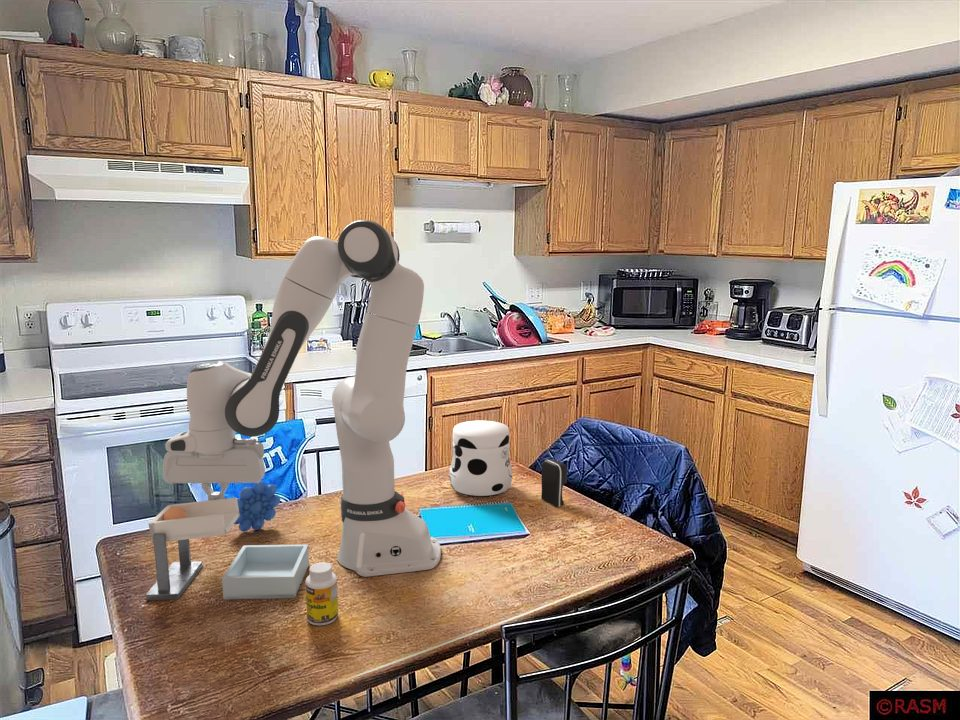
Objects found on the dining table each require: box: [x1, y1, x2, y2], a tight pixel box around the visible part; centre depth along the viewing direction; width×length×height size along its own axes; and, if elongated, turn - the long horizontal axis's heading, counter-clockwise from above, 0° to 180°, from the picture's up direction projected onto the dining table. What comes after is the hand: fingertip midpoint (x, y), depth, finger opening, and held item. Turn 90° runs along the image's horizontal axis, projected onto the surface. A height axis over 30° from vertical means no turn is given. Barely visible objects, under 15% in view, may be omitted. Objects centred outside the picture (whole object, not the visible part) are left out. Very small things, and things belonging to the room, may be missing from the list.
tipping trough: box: [148, 497, 240, 544], centre depth 135 cm, size 14×16×4 cm
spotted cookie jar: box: [448, 419, 513, 499], centre depth 182 cm, size 17×17×18 cm
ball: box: [164, 507, 186, 520], centre depth 131 cm, size 4×4×4 cm
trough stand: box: [145, 533, 204, 601], centre depth 133 cm, size 6×13×13 cm, turn 3°
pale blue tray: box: [221, 544, 310, 600], centre depth 135 cm, size 14×14×4 cm
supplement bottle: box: [305, 561, 339, 626], centre depth 121 cm, size 6×6×10 cm
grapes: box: [233, 480, 281, 533], centre depth 158 cm, size 12×7×12 cm, turn 121°
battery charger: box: [540, 458, 568, 508], centre depth 174 cm, size 7×4×11 cm, turn 34°
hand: (216, 501), depth 141 cm, fingers closed
